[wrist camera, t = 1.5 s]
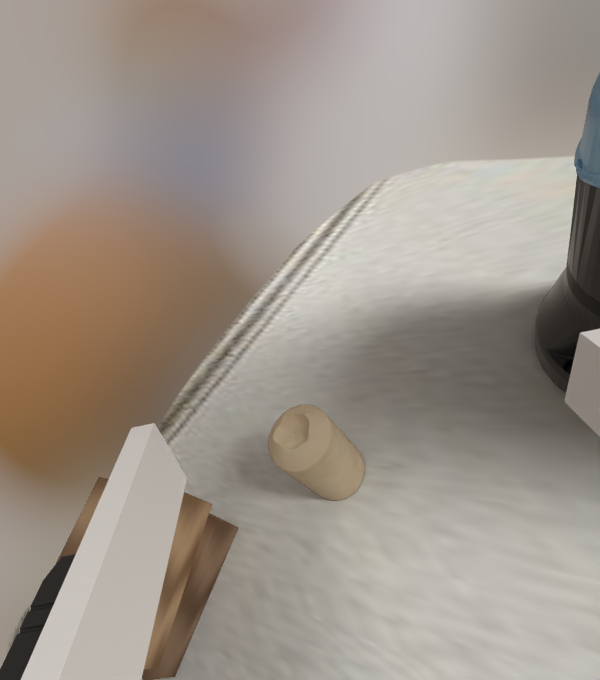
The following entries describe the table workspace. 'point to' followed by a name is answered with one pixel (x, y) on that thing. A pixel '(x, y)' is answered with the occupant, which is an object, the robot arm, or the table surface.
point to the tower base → (195, 594)
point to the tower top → (177, 568)
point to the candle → (316, 452)
